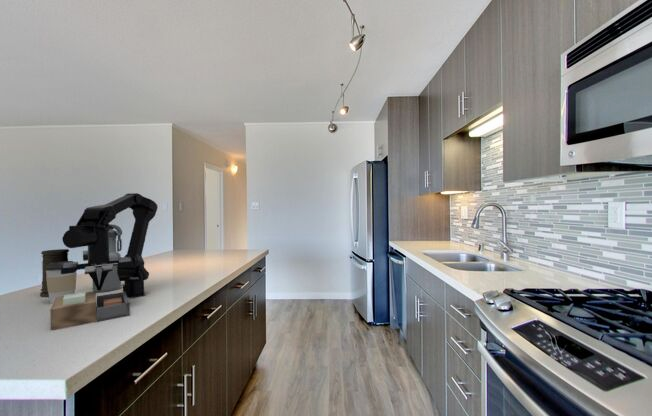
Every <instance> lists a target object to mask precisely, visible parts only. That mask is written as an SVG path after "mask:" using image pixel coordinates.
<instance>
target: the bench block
mask: <svg viewBox="0 0 652 416" xmlns="http://www.w3.org/2000/svg"><path fill="white" fill-rule="evenodd" d="M63 298H64V296H58V297H56V299H55V301H54V303H53V304H51V308H50V309H49V310H50V331H51V330H52V331H56V330H61V329H66V328H71V327H77V326H80V325H85V324H90V323H97V292H96V291H93V290H92V291H86V299H85V302H83V303H77V304H71V305H65V306H63Z"/></svg>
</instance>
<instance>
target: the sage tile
mask: <svg viewBox="0 0 652 416" xmlns="http://www.w3.org/2000/svg"><path fill="white" fill-rule="evenodd" d="M86 292H87V291H86ZM86 292H85V291H84V292H77V293H76V292H75V294H69V295H64V298H63V306H65V305H71V304H77V303H83V302H85V299H86Z"/></svg>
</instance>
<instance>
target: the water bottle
mask: <svg viewBox="0 0 652 416" xmlns="http://www.w3.org/2000/svg"><path fill="white" fill-rule="evenodd" d="M109 225H110V226H112V227H113V228H114V229H113V230H109V261H114V260H118V258H120V257H122V256H121V254H120V252H121V251H122V250H123V247H122V246H123V245H122V244H123V243H122V242H123V241H122V238H121V236H122V235H123V231H122V229H121V227H120V226H119V225H116V224H112V223H111V224H110V223H109ZM117 266H118V265H117ZM117 266H113V267H112V269H113V271H109V273H108V274H107V276H106V278H105V280H104V283H103V286H102V288H101V290H100V291H98V290H97V288H96V286H95V283H94V281H93V280H92V291H96V293H105V292H112V291H116V290H118V289H120V288H121V287H122V281H120V280H119V277H118V274H117ZM96 270H97V276H98V282H99V284H100V277H101V270H102V267H99V268H96Z"/></svg>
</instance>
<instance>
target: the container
mask: <svg viewBox="0 0 652 416" xmlns="http://www.w3.org/2000/svg"><path fill="white" fill-rule="evenodd" d="M69 252H70V250H69V249H68V248H64V249H63V248H61V249H60V248H59V249H49V250H48V249H47V250H42V251H41V252H40V254H41V257H42V261H41V265H42V266H41V267H42V272H41V273H42V279H41V280H42V281H41V289H40V291H41V292H40V294H39V295H40V297H43V298H49V293H48V288H47V280H46V276H47V275H46V270H45V269H46V267H47V266H49V264H50V263H54V262H62V261H69V258H68V257H69V256H68V255H69Z"/></svg>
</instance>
